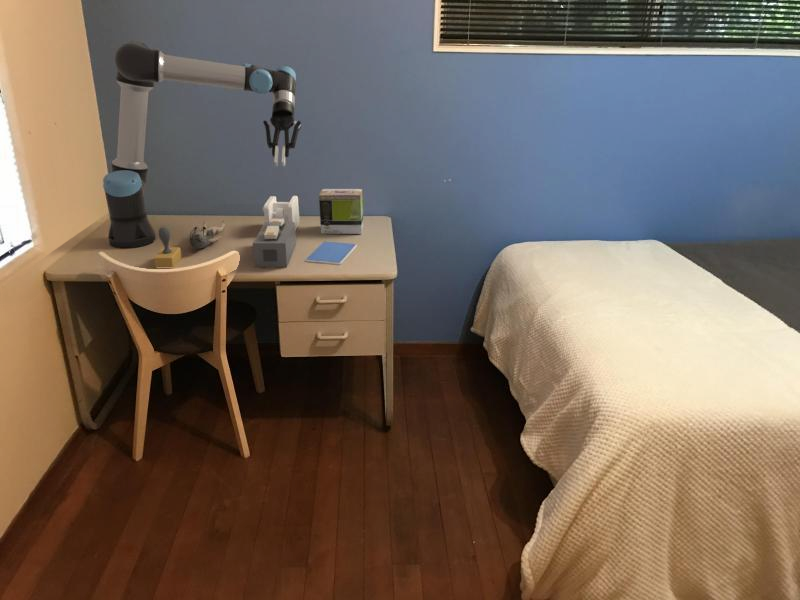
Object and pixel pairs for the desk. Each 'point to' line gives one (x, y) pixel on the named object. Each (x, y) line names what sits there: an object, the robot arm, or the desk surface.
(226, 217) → the desk surface
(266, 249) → the rocker switch panel
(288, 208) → the cable organizer
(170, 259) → the rubber stamp
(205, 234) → the anime figure
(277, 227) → the block
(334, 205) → the tea box
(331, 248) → the blue flat rectangular pad
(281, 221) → the back rocker
